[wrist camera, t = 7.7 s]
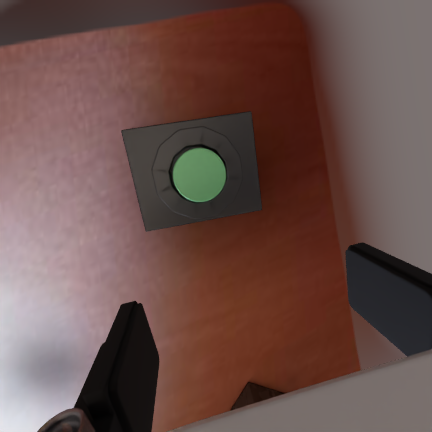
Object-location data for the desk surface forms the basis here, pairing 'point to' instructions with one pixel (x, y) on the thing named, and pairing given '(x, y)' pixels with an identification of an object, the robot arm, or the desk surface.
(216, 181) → the button
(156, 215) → the button box
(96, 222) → the desk surface
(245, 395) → the plate
